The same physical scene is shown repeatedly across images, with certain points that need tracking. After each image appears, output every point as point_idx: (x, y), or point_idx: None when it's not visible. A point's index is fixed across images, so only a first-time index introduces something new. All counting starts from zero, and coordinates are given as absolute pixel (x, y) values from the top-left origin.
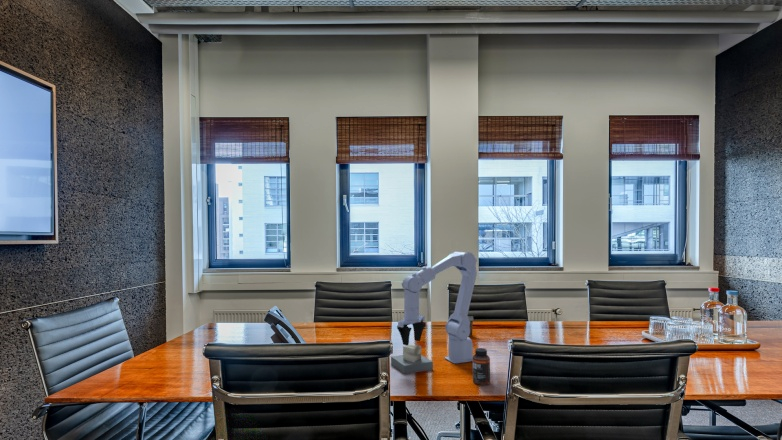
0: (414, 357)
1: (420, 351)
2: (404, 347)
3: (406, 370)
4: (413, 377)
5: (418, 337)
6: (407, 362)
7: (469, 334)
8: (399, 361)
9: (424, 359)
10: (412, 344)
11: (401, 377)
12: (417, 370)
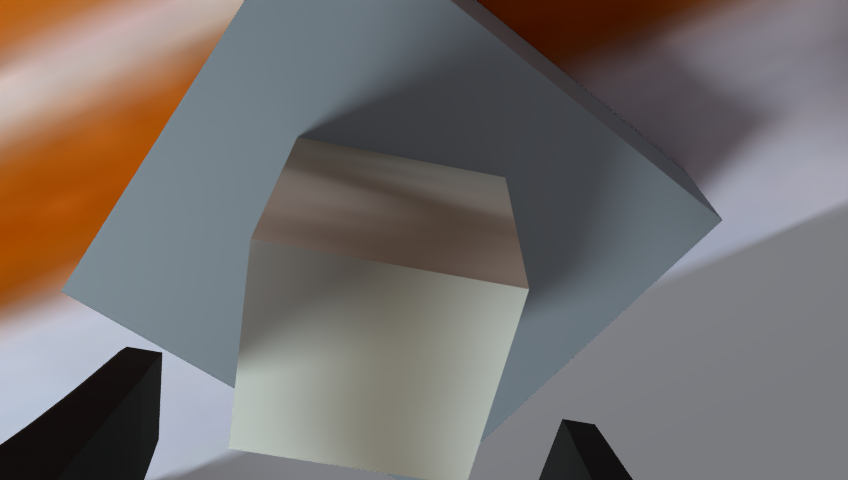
0: (482, 199)
1: (292, 194)
2: (471, 450)
3: (674, 171)
4: (773, 11)
5: (129, 425)
6: (560, 242)
7: None
8: (567, 345)
9: (289, 78)
10: (263, 407)
11: (818, 150)
12: (544, 59)
